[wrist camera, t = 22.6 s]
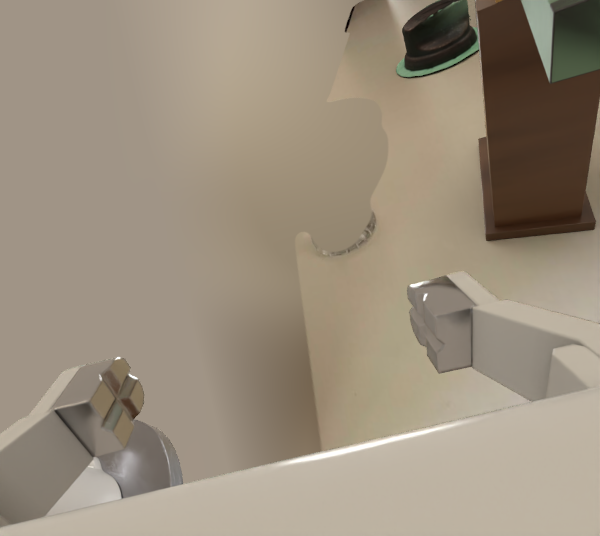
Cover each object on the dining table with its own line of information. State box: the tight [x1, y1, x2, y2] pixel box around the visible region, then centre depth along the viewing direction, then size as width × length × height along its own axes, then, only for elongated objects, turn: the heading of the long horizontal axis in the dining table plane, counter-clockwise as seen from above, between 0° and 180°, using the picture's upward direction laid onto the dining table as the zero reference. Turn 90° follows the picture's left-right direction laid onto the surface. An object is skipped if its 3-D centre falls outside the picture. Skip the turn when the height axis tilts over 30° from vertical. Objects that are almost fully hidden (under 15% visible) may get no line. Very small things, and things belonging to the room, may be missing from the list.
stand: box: [475, 0, 600, 241], centre depth 35 cm, size 20×10×26 cm, turn 163°
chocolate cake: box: [396, 0, 479, 77], centre depth 76 cm, size 15×19×20 cm
